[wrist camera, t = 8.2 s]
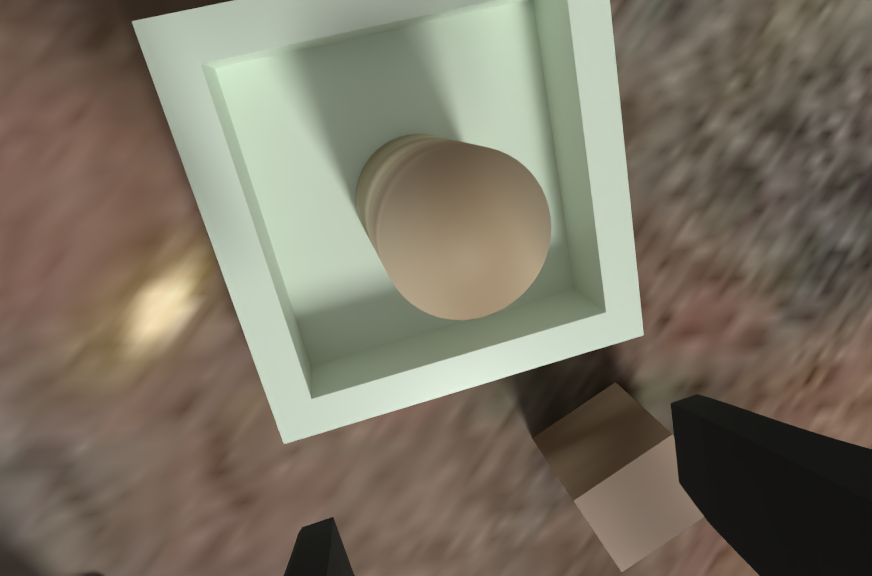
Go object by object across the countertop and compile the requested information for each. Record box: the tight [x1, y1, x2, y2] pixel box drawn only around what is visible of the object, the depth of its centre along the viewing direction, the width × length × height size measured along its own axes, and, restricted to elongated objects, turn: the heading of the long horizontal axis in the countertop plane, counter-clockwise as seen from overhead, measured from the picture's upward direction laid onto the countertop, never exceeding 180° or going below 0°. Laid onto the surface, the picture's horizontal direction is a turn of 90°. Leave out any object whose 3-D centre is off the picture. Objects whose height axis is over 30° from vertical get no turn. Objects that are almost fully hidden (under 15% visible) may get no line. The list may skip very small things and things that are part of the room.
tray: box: [132, 0, 644, 444], centre depth 18 cm, size 12×12×3 cm
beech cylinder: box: [356, 134, 551, 320], centre depth 16 cm, size 4×4×6 cm
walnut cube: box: [532, 382, 704, 572], centre depth 22 cm, size 4×4×4 cm
